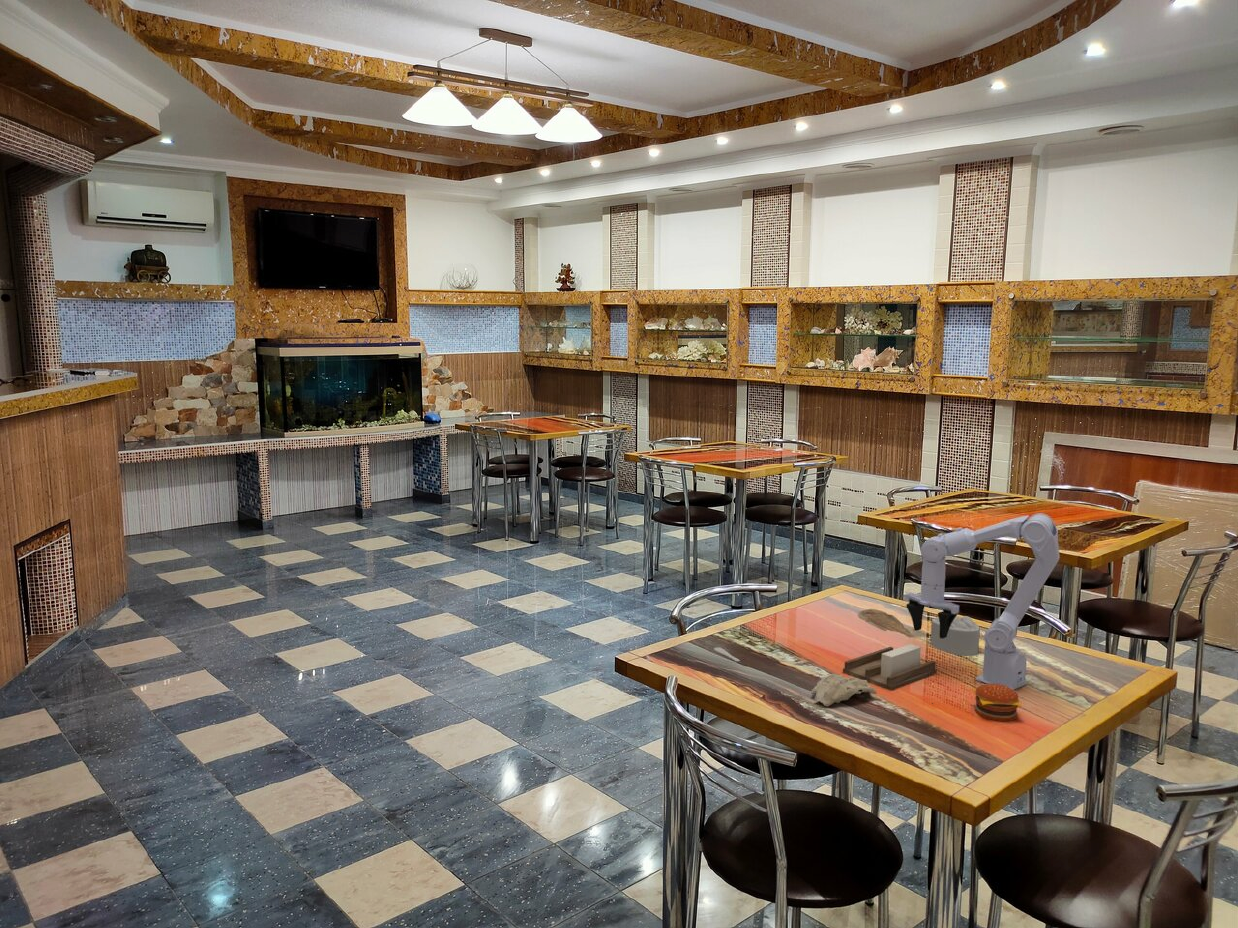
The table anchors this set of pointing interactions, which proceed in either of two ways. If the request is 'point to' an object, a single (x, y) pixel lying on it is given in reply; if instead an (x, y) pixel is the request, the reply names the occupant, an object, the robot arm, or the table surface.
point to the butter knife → (725, 653)
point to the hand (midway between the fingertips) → (930, 633)
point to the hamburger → (996, 702)
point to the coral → (839, 688)
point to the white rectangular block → (900, 660)
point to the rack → (871, 671)
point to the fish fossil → (883, 621)
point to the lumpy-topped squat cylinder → (957, 637)
